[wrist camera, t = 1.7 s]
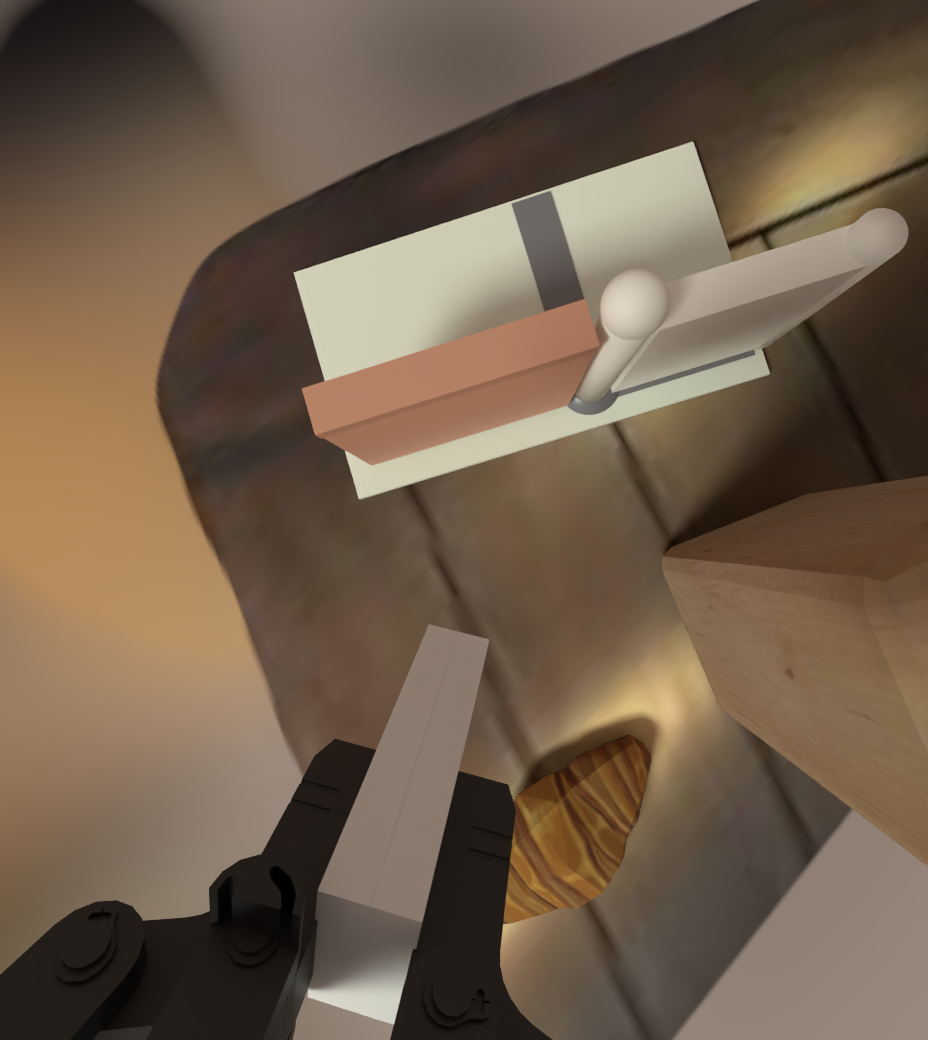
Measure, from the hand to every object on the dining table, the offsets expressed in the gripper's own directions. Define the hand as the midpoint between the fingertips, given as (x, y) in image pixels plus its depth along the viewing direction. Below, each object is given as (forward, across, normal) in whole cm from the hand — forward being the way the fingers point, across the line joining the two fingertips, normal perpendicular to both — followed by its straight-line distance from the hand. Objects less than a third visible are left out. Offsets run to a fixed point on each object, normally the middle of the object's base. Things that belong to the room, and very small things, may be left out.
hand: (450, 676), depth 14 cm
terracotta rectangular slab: (+21, +4, -1) cm, 22 cm away
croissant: (+13, -7, +20) cm, 25 cm away
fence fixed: (+25, -7, -6) cm, 26 cm away
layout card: (+25, +2, -6) cm, 26 cm away
